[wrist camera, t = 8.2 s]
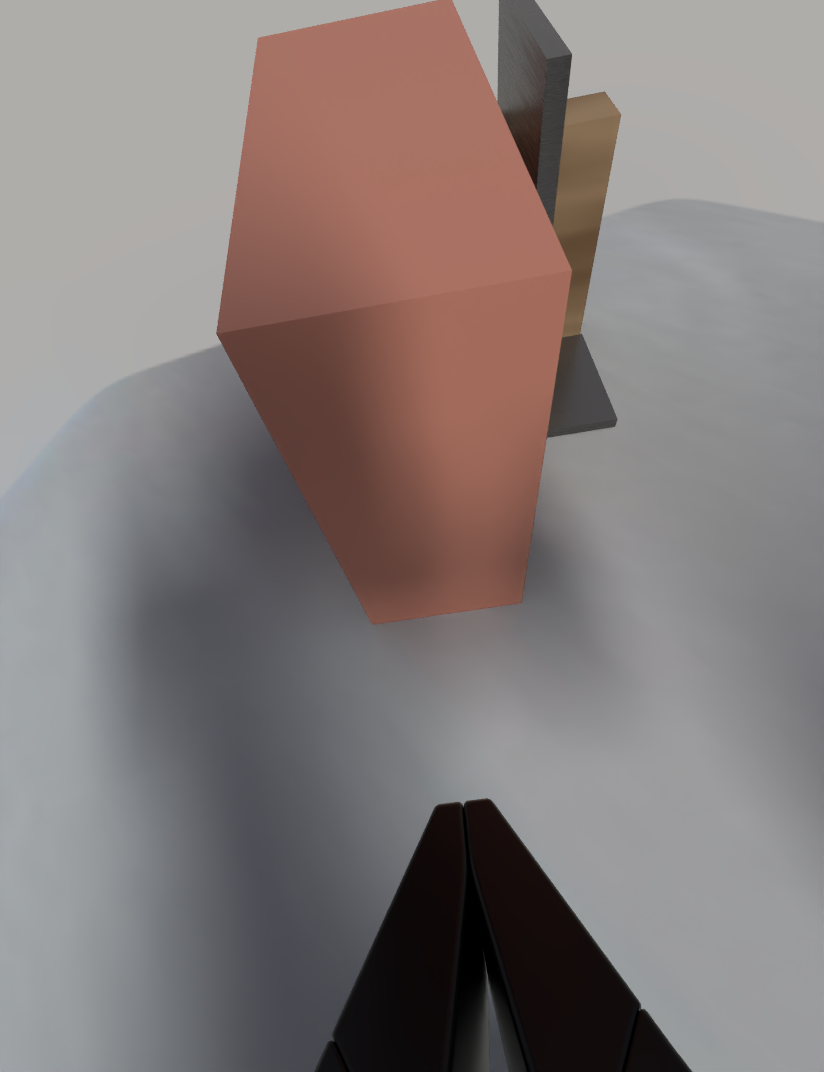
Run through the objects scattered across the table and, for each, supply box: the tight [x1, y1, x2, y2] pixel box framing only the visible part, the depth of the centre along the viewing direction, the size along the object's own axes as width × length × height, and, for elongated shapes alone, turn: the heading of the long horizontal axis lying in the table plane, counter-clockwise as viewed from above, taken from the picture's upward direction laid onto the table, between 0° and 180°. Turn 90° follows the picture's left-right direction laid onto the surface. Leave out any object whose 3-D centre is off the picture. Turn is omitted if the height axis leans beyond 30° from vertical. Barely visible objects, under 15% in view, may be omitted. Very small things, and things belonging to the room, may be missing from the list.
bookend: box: [498, 0, 617, 437], centre depth 20 cm, size 6×5×14 cm
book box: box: [216, 0, 572, 624], centre depth 18 cm, size 14×6×14 cm, turn 6°
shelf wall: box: [553, 92, 621, 337], centre depth 24 cm, size 2×13×10 cm, turn 96°
